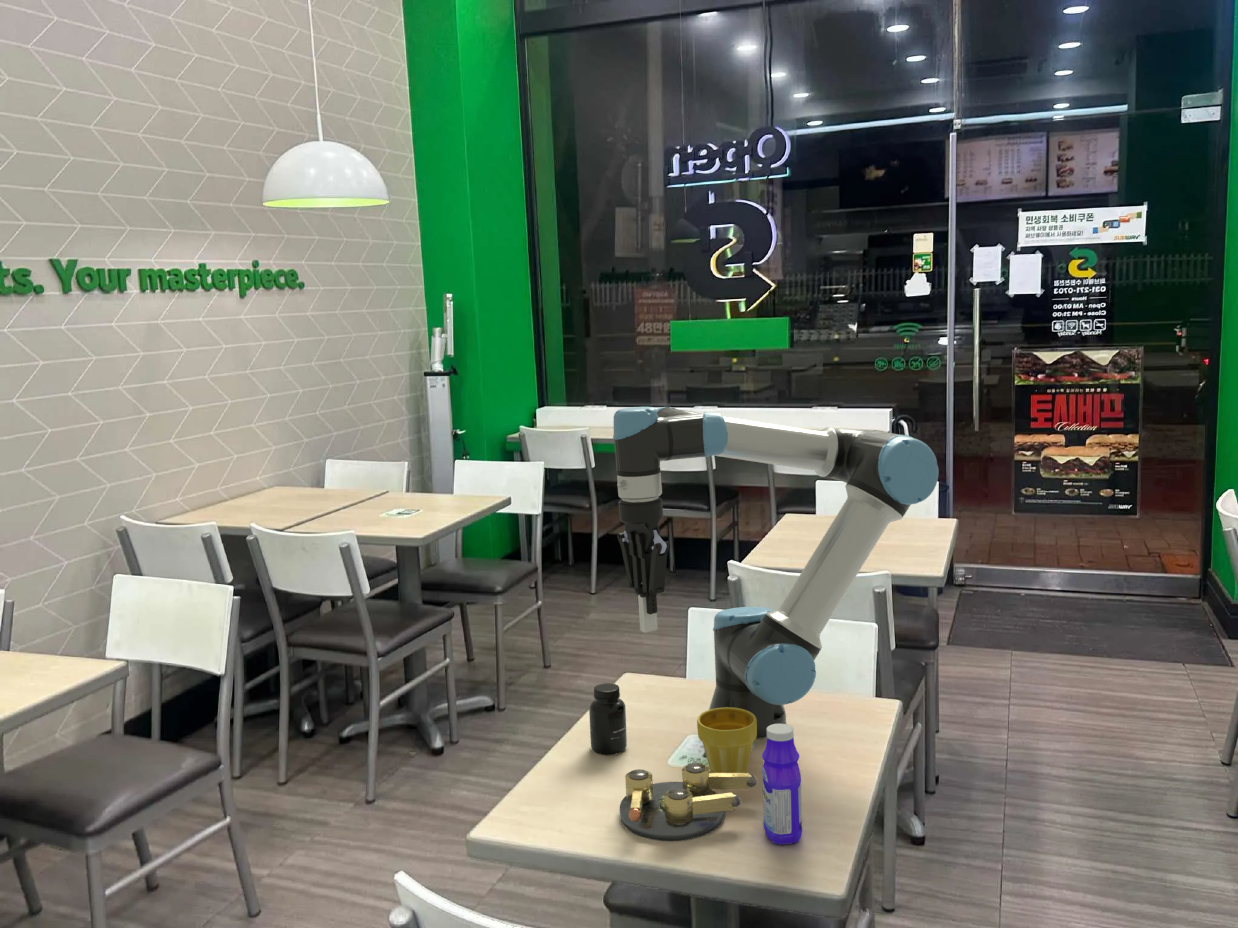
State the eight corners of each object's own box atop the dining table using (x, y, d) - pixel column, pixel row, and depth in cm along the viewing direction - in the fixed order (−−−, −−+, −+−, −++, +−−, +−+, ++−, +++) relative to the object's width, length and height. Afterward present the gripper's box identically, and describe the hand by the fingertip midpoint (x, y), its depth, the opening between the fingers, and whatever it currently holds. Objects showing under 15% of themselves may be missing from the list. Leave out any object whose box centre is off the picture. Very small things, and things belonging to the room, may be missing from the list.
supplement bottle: (623, 756, 190) (620, 694, 188) (587, 755, 191) (584, 693, 189) (630, 741, 196) (627, 681, 195) (595, 740, 198) (592, 680, 196)
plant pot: (723, 789, 175) (721, 734, 174) (687, 768, 184) (685, 716, 182) (770, 772, 180) (768, 719, 179) (733, 753, 189) (731, 702, 188)
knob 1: (627, 790, 171) (626, 767, 171) (653, 790, 171) (652, 767, 170) (620, 826, 159) (619, 802, 159) (649, 826, 159) (648, 802, 158)
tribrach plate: (710, 784, 177) (709, 769, 177) (737, 832, 160) (736, 816, 160) (612, 796, 174) (611, 781, 174) (629, 846, 158) (629, 830, 157)
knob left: (682, 795, 168) (681, 772, 168) (683, 783, 173) (682, 760, 172) (757, 795, 167) (757, 772, 167) (756, 783, 172) (756, 760, 171)
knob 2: (668, 825, 159) (667, 800, 159) (662, 811, 163) (661, 788, 163) (744, 815, 161) (744, 791, 160) (737, 802, 165) (736, 778, 165)
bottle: (759, 825, 162) (756, 720, 160) (794, 822, 163) (792, 717, 160) (769, 849, 155) (766, 739, 153) (806, 845, 156) (804, 736, 153)
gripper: (601, 496, 180) (610, 626, 184) (643, 506, 169) (652, 643, 173) (636, 490, 184) (645, 617, 188) (680, 498, 173) (688, 633, 177)
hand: (649, 629), depth 180 cm, fingers closed
